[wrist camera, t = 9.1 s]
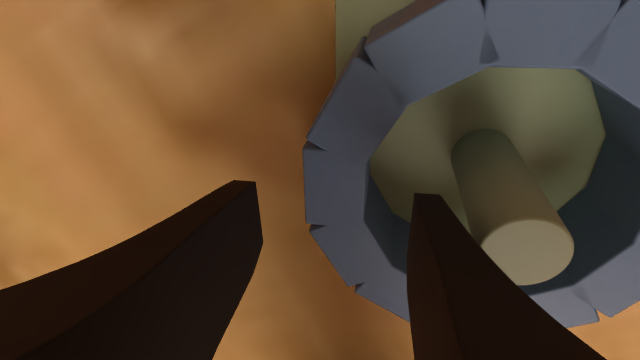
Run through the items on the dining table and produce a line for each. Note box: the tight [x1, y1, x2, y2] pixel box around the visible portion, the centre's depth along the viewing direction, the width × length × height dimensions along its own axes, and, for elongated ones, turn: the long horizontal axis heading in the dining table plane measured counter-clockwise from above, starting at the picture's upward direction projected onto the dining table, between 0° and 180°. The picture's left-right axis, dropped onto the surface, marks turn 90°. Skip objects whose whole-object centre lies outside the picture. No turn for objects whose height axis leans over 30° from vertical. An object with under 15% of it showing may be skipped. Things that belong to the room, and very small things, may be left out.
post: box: [335, 0, 607, 285], centre depth 11 cm, size 10×10×6 cm
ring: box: [302, 0, 640, 328], centre depth 11 cm, size 11×11×3 cm
